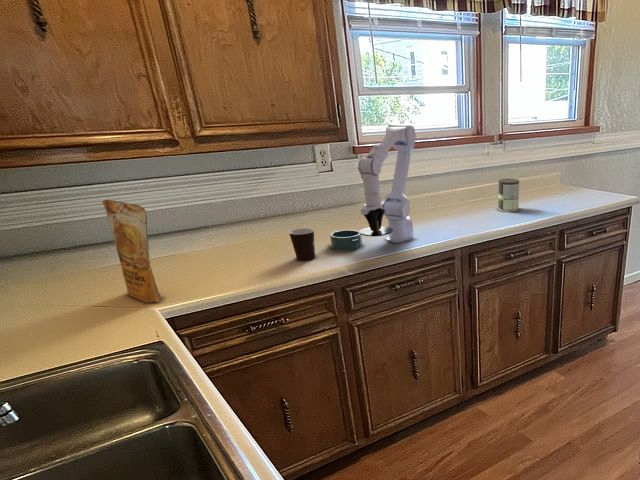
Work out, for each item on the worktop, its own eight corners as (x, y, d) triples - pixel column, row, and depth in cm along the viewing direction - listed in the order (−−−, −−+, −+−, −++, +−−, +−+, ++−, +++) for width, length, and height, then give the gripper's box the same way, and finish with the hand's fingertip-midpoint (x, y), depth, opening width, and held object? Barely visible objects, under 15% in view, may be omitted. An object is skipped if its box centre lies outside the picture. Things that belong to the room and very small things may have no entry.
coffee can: (494, 210, 259) (494, 180, 253) (505, 206, 267) (505, 177, 260) (511, 212, 254) (512, 182, 247) (522, 208, 262) (523, 179, 255)
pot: (350, 240, 212) (348, 227, 210) (371, 249, 201) (369, 235, 198) (324, 245, 206) (322, 231, 203) (343, 255, 194) (341, 241, 192)
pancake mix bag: (143, 287, 165) (113, 197, 152) (175, 299, 156) (146, 204, 143) (120, 293, 160) (87, 201, 147) (152, 306, 151) (120, 209, 138)
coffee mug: (311, 262, 187) (306, 235, 182) (289, 261, 188) (284, 233, 183) (325, 253, 197) (321, 226, 192) (305, 251, 198) (300, 225, 193)
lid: (382, 227, 204) (381, 215, 202) (399, 233, 196) (398, 221, 194) (353, 232, 197) (352, 220, 195) (369, 239, 189) (368, 227, 187)
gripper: (372, 188, 197) (376, 224, 203) (352, 195, 185) (356, 233, 191) (389, 189, 195) (392, 225, 201) (369, 197, 183) (373, 235, 189)
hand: (375, 229), depth 196 cm, fingers closed on lid, 2 cm apart
